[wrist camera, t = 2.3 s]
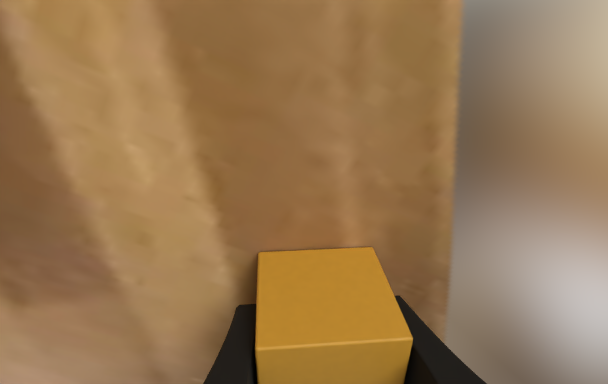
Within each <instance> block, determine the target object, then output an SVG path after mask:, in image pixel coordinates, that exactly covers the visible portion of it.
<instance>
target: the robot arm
mask: <svg viewBox="0 0 608 384" xmlns="http://www.w3.org/2000/svg"><path fill="white" fill-rule="evenodd" d="M395 299H396V301H397V303H398V305H399V308H400V310H401V312H402V314H403V317H404V319H405V321H406V323H407V326H408V328H409V330H410V332H411V335H412V337H413V342H412V347H411V352H410V357H409V361H408V366H407V371H406V376H405V380H404V384H486V383H485V382H484V381H483V380H482V379H481V378H479V377H478V376H477V375H476V374H475V373H474V372H473V371H472V370H471V369H470V368H468V367H467V366H466V365H465V364H464V363H463V362H462V361H461V360H460V359H459V358H458V357H457V356H456V355H455V354H454V353H453V352H451V350H450V349H449V348H448V347H447V346H446V345H445V344H444V343H443V342H442V341H441V340H440V339H439V338H438V337H437V336H436V335H435V334H434V333H433V332H432V331H431V330H430V329H429V328H428V327H427V326H426V324H425V323H424V322H423V321H422V320H421V319H420V318H419V317H418V316H417V315H416V313H415V312H414V311H413V310H412V309H411V308H410V307H409V306H408V304H407V303H406V302H405V301H404V300H403V299H402V298H401V297H400V296H395ZM255 333H256V304H247V305H239V306H238V307H237V308H236V311H235V314H234V317H233V321H232V323H231V326H230V329H229V331H228V334H227V336H226V339H225V341H224V343H223V345H222V347H221V350H220V352H219V354H218V356H217V358H216V360H215V362H214V364H213V366H212V368H211V370H210V372H209V374H208V376H207V378H206V379H205V381H204V383H203V384H257V371H256V357H255Z"/></svg>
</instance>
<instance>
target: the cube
mask: <svg viewBox="0 0 608 384" xmlns="http://www.w3.org/2000/svg"><path fill="white" fill-rule="evenodd" d="M412 342H413V337H412V335H411V332H410V330H409V328H408V326H407V323H406V321H405V319H404V317H403V314H402V312H401V310H400V308H399V305H398V303H397V301H396V299H395V296H394V294H393V292H392V290H391V287H390V285H389V283H388V281H387V278H386V276H385V274H384V272H383V270H382V267H381V265H380V263H379V261H378V258H377V256H376V254H375V252H374V249H373V248H372V247H361V248H339V249H317V250H295V251H273V252H259V253H258V268H257V301H256V333H255V357H256V371H257V384H404V380H405V376H406V371H407V366H408V361H409V357H410V352H411V347H412Z"/></svg>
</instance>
